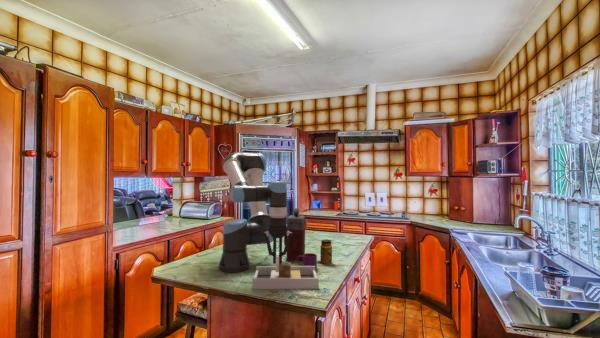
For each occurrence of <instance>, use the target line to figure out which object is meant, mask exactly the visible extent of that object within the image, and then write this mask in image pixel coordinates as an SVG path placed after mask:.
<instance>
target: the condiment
mask: <svg viewBox="0 0 600 338" xmlns="http://www.w3.org/2000/svg"><path fill="white" fill-rule="evenodd" d="M320 241H321V245H320V260H317V266H319V267H320V266H321V267H322V266H334V265H335V263H333V261H332V260H333V246H332V241H331V240H330V239H322V240H320Z"/></svg>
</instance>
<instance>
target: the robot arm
mask: <svg viewBox="0 0 600 338" xmlns="http://www.w3.org/2000/svg"><path fill="white" fill-rule="evenodd" d="M222 170H223V172H224V173H226V175H227V177H228V179H229V182H230V184H231V187H230V190H229V191H230V192H229V193H230V201H231V202H233V203H249V206H250V207H249V208H250V209H249V210H250V217H249V218H248V219H246V218H236V219H231V220H229V221H226V222H225V223H223V226H222V253H221V257H220V260H219V262H218V270H219V271H221V272H223V273H240V272H244V271H247V270H249V269H250V267H251V261H250V258H249V255H248V251H247V250H248V248H247V246H253V245H263V244H264V245H266V247H267V251H268V255H269V256H272V263H273V264H275V266H276V272H279V264H281V263H282V262H283V256H287V248H288V244H289V240H290V238H291V236H292V232H289V231H288V229H287V218H288V217H287V213H288V212H287V211H288V210H287V209H288V208H287V207H288V206H287V204H288V203H287V201H288V197H287V194H288V186H287V185H288V184H287V182H286V181H270V183H269V184H266V185H265V184H264V182H263V175H264V173H265V172H266V170H267V161H266V157H265V155H264V154H263V153H261V152H255V151H254V152H248V151H245V152H244V151H234V152H232V153H229V154H228V155H226V156H225V158H224V159H223V161H222ZM266 202H269V213H268V211H267V203H266ZM286 233H287V239H286V243H285V245H284V247H283V239H284V235H285V234H286ZM277 239H278V243H279V244H278V254H277ZM271 243H273V245H271Z"/></svg>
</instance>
